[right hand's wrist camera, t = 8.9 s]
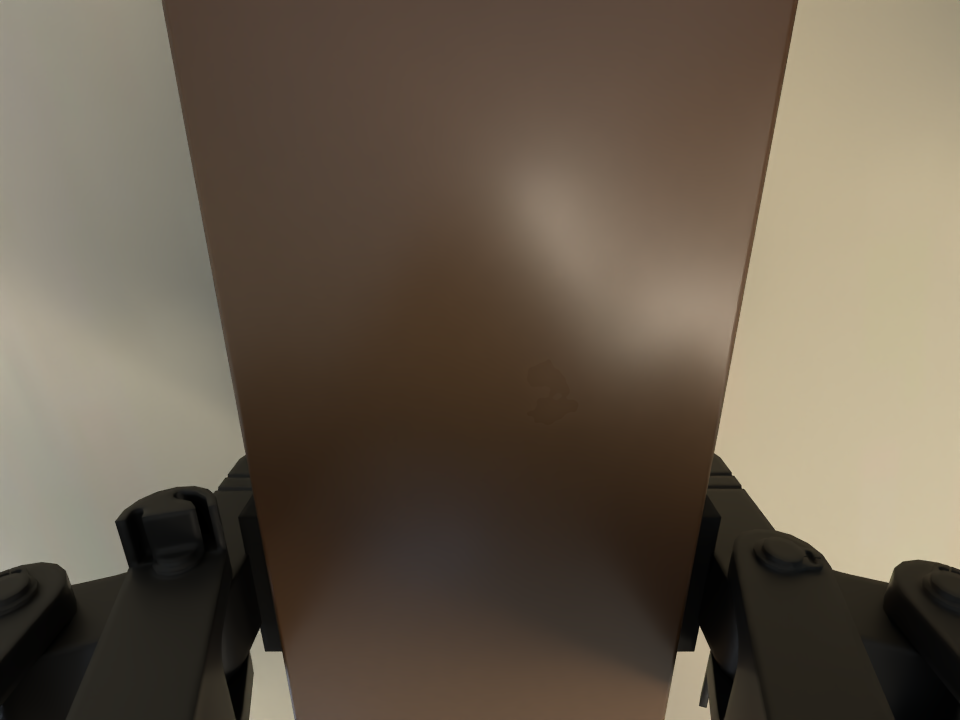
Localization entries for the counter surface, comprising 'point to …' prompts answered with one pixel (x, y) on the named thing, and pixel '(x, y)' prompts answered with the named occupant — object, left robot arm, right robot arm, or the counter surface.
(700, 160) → the bar
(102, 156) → the counter surface
